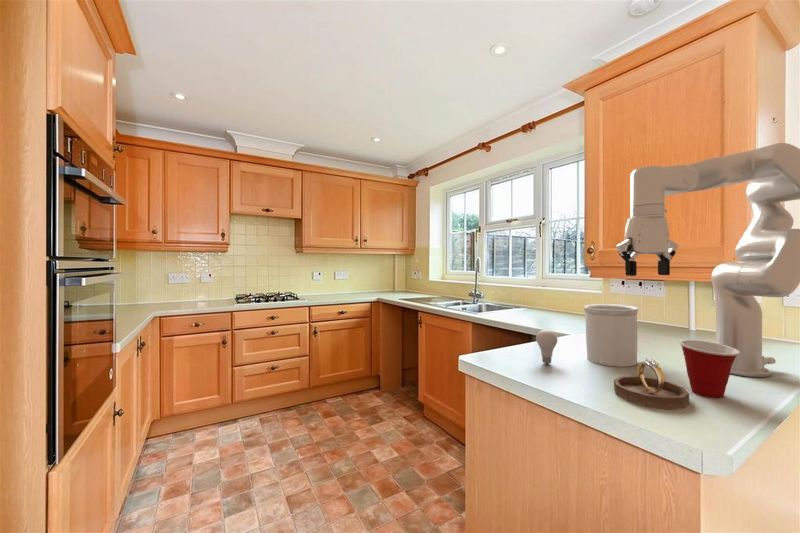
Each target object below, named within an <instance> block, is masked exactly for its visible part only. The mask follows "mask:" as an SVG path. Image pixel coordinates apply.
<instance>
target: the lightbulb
mask: <svg viewBox="0 0 800 533" xmlns="http://www.w3.org/2000/svg"><path fill="white" fill-rule="evenodd" d="M535 340H536V343H537V345H538V346H539V349H540V353H541V360H542V363H543V364H545V365H549V364H552V357H553V352H554V350H555V347H556V346H557V344H558V337H557V334H556V333H555V332H554V331H553V330H550V329H542V330H540V331H538V333H536V337H535Z"/></svg>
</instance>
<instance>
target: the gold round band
mask: <svg viewBox="0 0 800 533" xmlns="http://www.w3.org/2000/svg"><path fill="white" fill-rule="evenodd" d="M644 360H645V361H642V362H640V363H638V365H637V375H638V376H639V379H640V382H641V384H642V386H643V387H644V388H645V389H646V390H647V392H648V393H658V392H660V391H661V389H662V387H663V383H664V381H665V376H664V372H663V370H662V368H661V367H660V366H659V365H660V364H659V362H656V360H654V358H651V359H648V358H645V359H644ZM646 367H649V368H650V369H651V370H652V371H654V374H655V377H656V379H657V386H656V388H655V389H654V390H653V389H652V388H649V387H648V385H647V384H646V382H645V379H644V377H645V376H644V371H645V368H646Z"/></svg>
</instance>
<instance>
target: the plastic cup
mask: <svg viewBox="0 0 800 533" xmlns="http://www.w3.org/2000/svg"><path fill="white" fill-rule="evenodd" d="M679 345H680V346H681V349H682V353H683V356H684V363H685V367H686V374H687V378H688V381H689V385H690V389H691V391H692V393H693V394H695V395H698V396H701V397H705V398H711V399H722V398H724V396H725V393H726V388H727V385H728V382H729V380H730V375H731V374H730V371H731V367H732V364H733V362H734V360H735V357H736V356H737V355H739V353H740V351H738V350H737V349H734V348H732V347H729V346H725V345H721V344H717V343H716V342H712V341H711V342H710V341H707V340H705V341H704V340H696V339H694V340H693V339H683V340H682V339H681V340H680V341H679Z"/></svg>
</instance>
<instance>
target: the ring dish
mask: <svg viewBox="0 0 800 533" xmlns="http://www.w3.org/2000/svg"><path fill="white" fill-rule="evenodd" d="M644 379H645V382H646V384H647V385H648V387H649V388H652V389H653V390H654V389H655V388H656V386H657V378H655V377H654V378H653V377H650V376H649V377H647V376H644ZM686 389H687V388H685V387H683V386H681V385H678V384H676V383H673V382H671V381H668V380H664V383H663V387H662V389H661V391H660V392H658V393H648V392H647V390H646V389H645V388H644V387H643V386H642V384H641V382H640V379H639V376H637V375H627V376H625V375H624V376H618V377H616V378H614V379H613V390H614V392H615V395H616V396H618V397H620V398H621V399H623V400H625V401H627V402H629V403H633V404H636V405H639V406H643V407H646V408H653V409H654V408H655V409H661V410H670V411H671V410H683V409H685V408H687V407H688V406H689V405H690V392H688V390H686Z"/></svg>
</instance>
